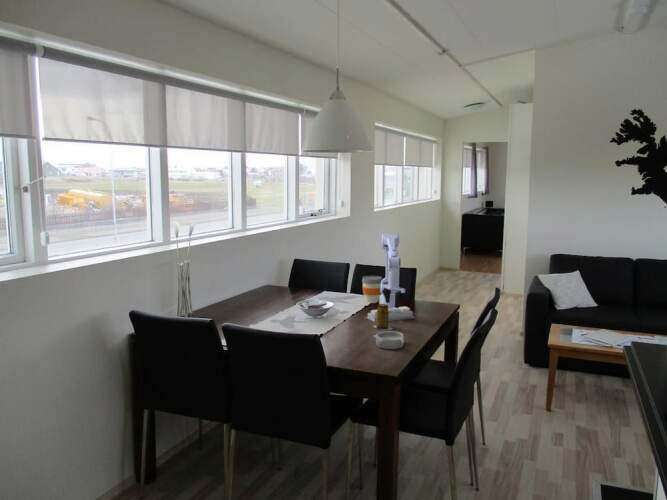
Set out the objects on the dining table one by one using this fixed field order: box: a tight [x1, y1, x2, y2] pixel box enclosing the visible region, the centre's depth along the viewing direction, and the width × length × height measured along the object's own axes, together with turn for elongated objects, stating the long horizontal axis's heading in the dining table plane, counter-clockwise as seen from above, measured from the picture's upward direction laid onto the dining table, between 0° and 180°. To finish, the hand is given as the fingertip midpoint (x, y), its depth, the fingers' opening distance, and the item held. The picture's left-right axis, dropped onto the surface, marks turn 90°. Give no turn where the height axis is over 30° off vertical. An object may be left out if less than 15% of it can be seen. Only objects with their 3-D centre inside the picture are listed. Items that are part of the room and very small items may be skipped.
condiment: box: [372, 303, 393, 331], centre depth 280 cm, size 7×8×12 cm
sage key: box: [370, 309, 378, 316], centre depth 296 cm, size 4×4×3 cm
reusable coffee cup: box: [361, 275, 383, 304], centre depth 337 cm, size 13×13×15 cm
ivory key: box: [398, 306, 411, 312], centre depth 304 cm, size 4×4×3 cm
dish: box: [372, 330, 405, 350], centre depth 253 cm, size 14×14×5 cm
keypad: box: [364, 310, 417, 324], centre depth 300 cm, size 12×26×3 cm, turn 117°
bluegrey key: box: [390, 307, 401, 314], centre depth 301 cm, size 4×4×3 cm
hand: (392, 303), depth 296 cm, fingers open, 7 cm apart
